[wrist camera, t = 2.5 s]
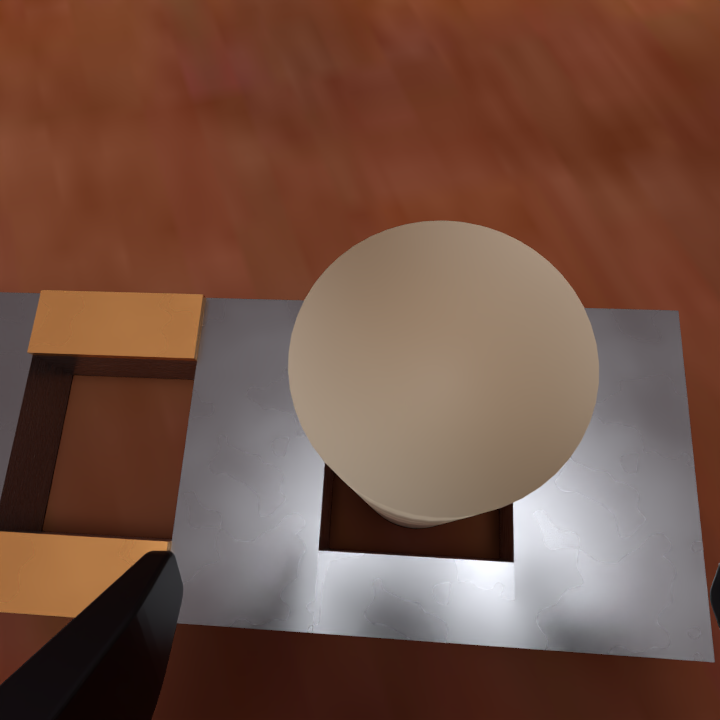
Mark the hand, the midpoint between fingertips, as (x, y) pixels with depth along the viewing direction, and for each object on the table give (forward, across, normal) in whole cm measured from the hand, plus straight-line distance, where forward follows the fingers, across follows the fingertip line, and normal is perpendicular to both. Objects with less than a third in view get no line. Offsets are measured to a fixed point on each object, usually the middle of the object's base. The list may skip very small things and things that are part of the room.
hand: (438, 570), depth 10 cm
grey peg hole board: (+9, +5, +5) cm, 12 cm away
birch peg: (+9, 0, +5) cm, 10 cm away
